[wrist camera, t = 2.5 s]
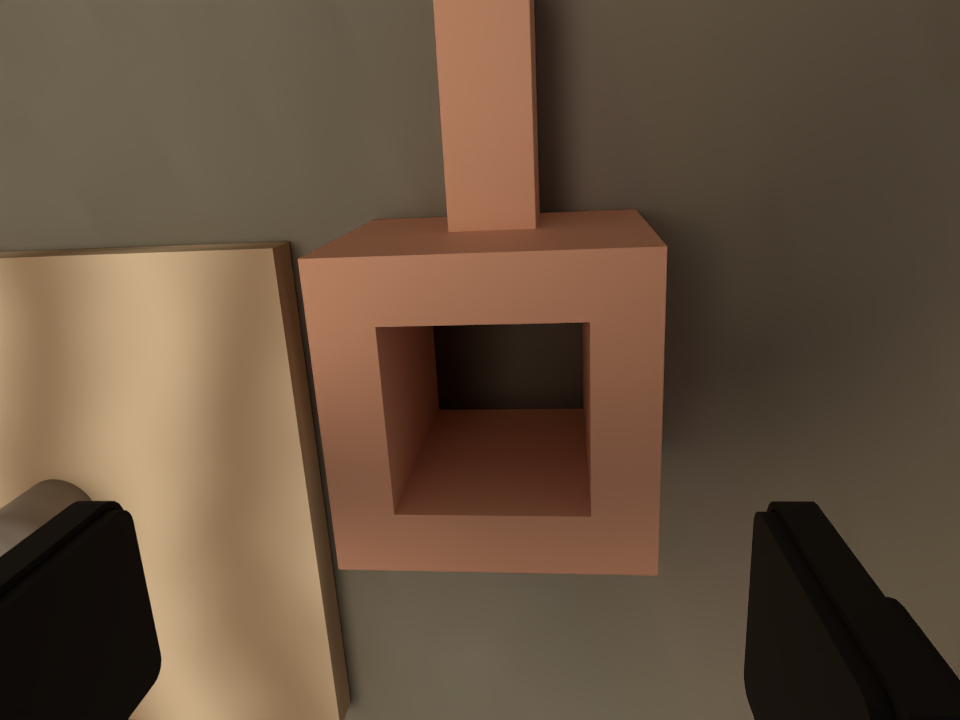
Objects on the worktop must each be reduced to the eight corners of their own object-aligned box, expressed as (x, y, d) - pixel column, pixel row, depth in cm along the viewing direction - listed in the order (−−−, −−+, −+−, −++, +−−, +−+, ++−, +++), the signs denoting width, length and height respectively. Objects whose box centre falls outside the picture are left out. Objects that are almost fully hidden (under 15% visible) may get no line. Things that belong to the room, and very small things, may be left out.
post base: (289, 241, 20) (199, 279, 15) (350, 701, 25) (299, 843, 20) (-214, 259, 22) (-438, 299, 17) (-65, 684, 27) (-205, 809, 22)
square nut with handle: (632, 452, 21) (657, 575, 15) (397, 453, 22) (338, 569, 16) (638, -26, 17) (677, -101, 11) (352, -4, 18) (255, -62, 12)
